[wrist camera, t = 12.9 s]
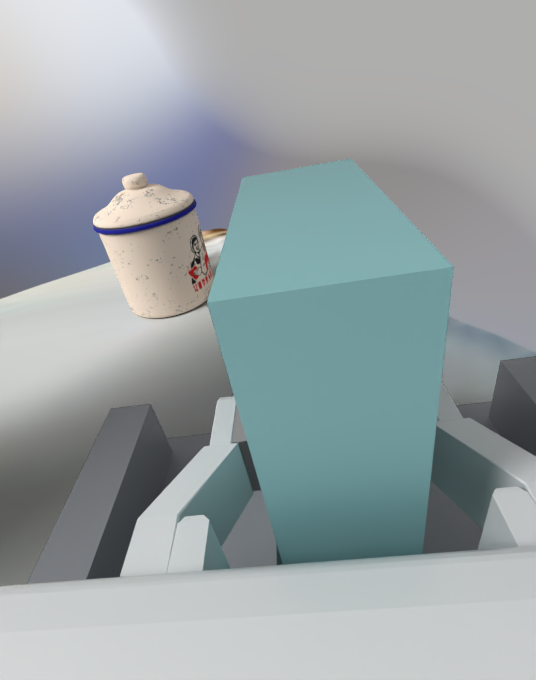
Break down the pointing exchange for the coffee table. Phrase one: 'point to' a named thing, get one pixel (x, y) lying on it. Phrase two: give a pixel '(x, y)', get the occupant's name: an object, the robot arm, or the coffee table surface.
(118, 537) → the slotted rack
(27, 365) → the coffee table surface
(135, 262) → the teacup with lid
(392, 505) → the aqua rubber eraser
